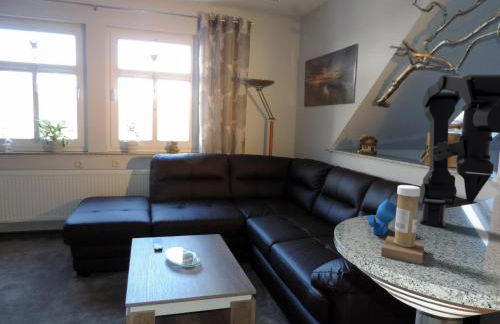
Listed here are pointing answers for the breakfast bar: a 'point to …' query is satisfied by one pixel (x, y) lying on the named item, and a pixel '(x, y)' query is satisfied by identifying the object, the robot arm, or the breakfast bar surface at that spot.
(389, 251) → the wooden block
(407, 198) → the sprinkles bottle
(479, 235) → the breakfast bar surface
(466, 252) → the breakfast bar surface
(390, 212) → the blue figurine
